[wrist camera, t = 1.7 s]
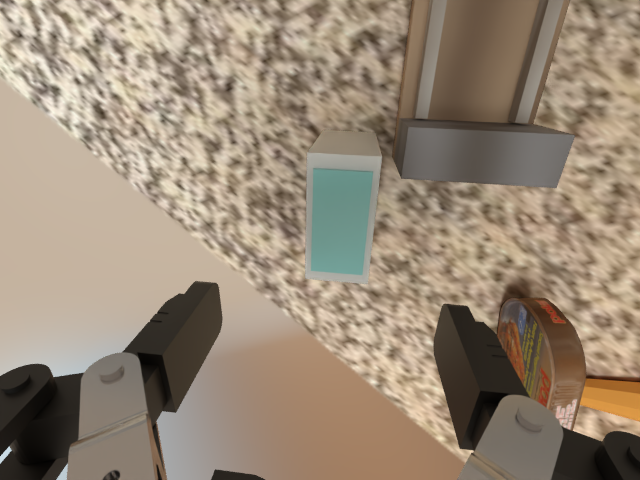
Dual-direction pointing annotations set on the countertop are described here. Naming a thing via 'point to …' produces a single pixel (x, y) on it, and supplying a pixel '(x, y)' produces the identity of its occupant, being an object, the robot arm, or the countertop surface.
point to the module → (341, 205)
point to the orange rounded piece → (613, 397)
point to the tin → (544, 354)
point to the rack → (479, 93)
